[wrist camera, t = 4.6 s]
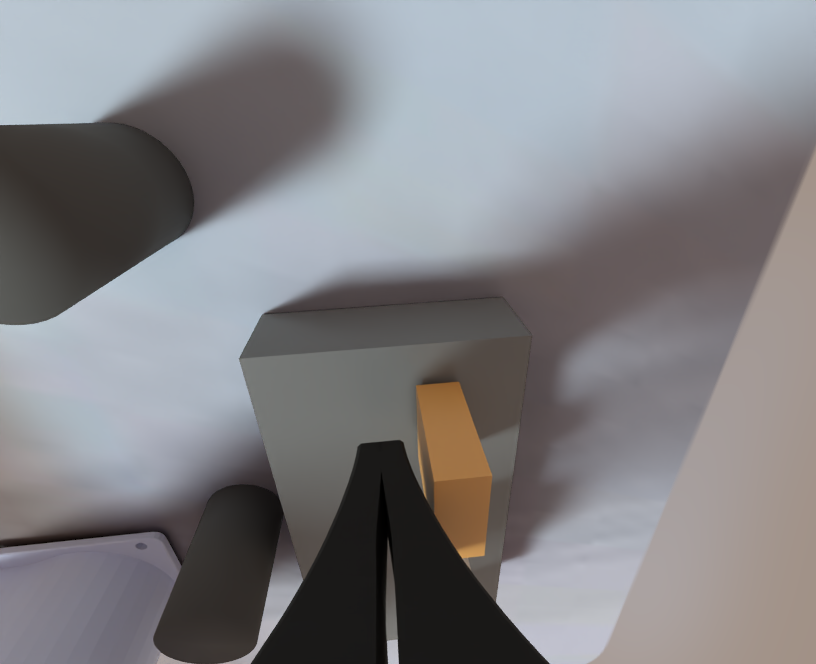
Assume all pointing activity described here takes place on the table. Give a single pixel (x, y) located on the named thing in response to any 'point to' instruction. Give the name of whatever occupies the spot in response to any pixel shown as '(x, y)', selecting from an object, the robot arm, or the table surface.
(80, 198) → the dark grey cylinder
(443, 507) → the block
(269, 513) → the grey short cylinder
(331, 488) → the block
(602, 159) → the table surface
